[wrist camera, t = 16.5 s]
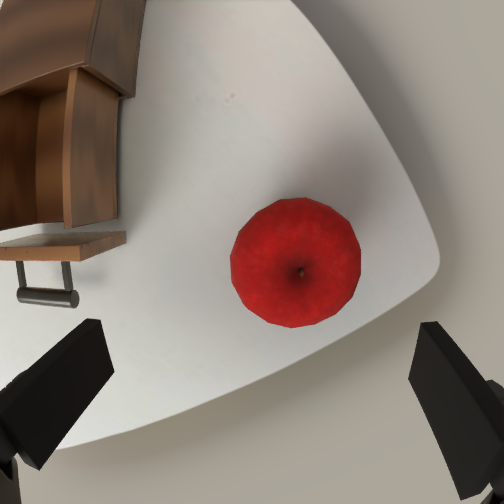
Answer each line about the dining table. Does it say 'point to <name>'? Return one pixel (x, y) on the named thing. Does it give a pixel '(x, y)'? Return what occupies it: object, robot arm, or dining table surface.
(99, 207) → the drawer
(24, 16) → the cabinet
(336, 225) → the apple
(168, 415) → the dining table surface
